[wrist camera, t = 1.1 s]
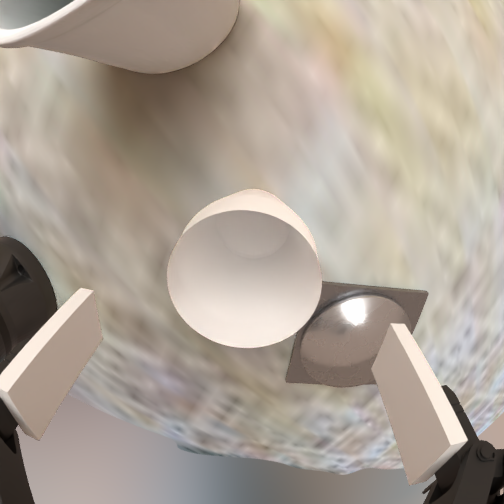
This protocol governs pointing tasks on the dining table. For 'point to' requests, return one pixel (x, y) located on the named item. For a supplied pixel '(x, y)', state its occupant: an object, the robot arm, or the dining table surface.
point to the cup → (245, 271)
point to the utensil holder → (121, 30)
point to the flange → (350, 332)
